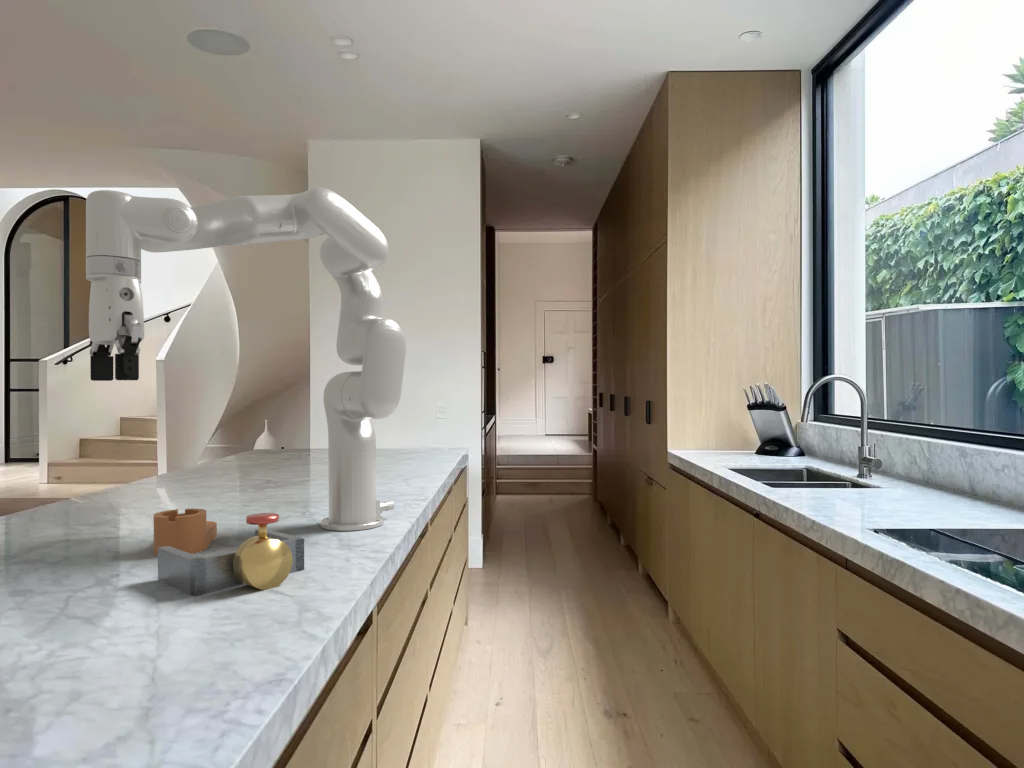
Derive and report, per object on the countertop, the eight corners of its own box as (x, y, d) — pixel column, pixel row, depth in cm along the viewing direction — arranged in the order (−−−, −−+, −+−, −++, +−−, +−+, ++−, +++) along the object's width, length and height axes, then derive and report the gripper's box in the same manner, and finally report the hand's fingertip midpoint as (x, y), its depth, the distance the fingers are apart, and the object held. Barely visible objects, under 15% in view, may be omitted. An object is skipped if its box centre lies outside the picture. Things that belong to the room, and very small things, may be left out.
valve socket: (263, 558, 113) (263, 497, 113) (322, 576, 102) (322, 508, 102) (157, 581, 100) (157, 512, 100) (212, 604, 89) (211, 527, 89)
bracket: (201, 556, 115) (201, 516, 115) (147, 560, 113) (147, 518, 113) (220, 533, 133) (220, 498, 133) (174, 536, 131) (174, 500, 131)
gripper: (163, 269, 104) (163, 380, 104) (117, 280, 115) (117, 380, 115) (109, 262, 98) (110, 379, 98) (67, 274, 109) (67, 380, 109)
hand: (114, 380), depth 107 cm, fingers open, 9 cm apart
